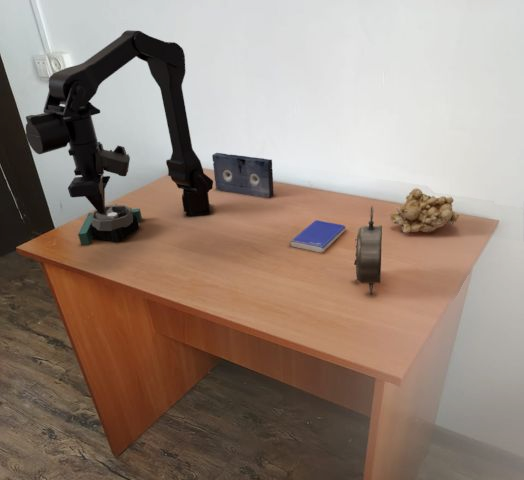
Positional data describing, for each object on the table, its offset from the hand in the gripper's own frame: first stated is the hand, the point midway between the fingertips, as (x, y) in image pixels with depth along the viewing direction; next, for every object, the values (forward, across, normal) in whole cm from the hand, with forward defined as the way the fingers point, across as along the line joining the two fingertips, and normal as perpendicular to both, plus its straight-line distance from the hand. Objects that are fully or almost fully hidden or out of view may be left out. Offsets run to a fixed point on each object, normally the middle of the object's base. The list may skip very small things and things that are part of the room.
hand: (102, 212), depth 113 cm
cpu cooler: (+10, +10, +1) cm, 14 cm away
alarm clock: (+10, -25, -55) cm, 61 cm away
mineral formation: (+10, -2, -75) cm, 75 cm away
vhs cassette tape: (+10, +31, -33) cm, 46 cm away
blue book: (+10, -3, -49) cm, 50 cm away
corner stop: (+10, +12, +2) cm, 15 cm away
